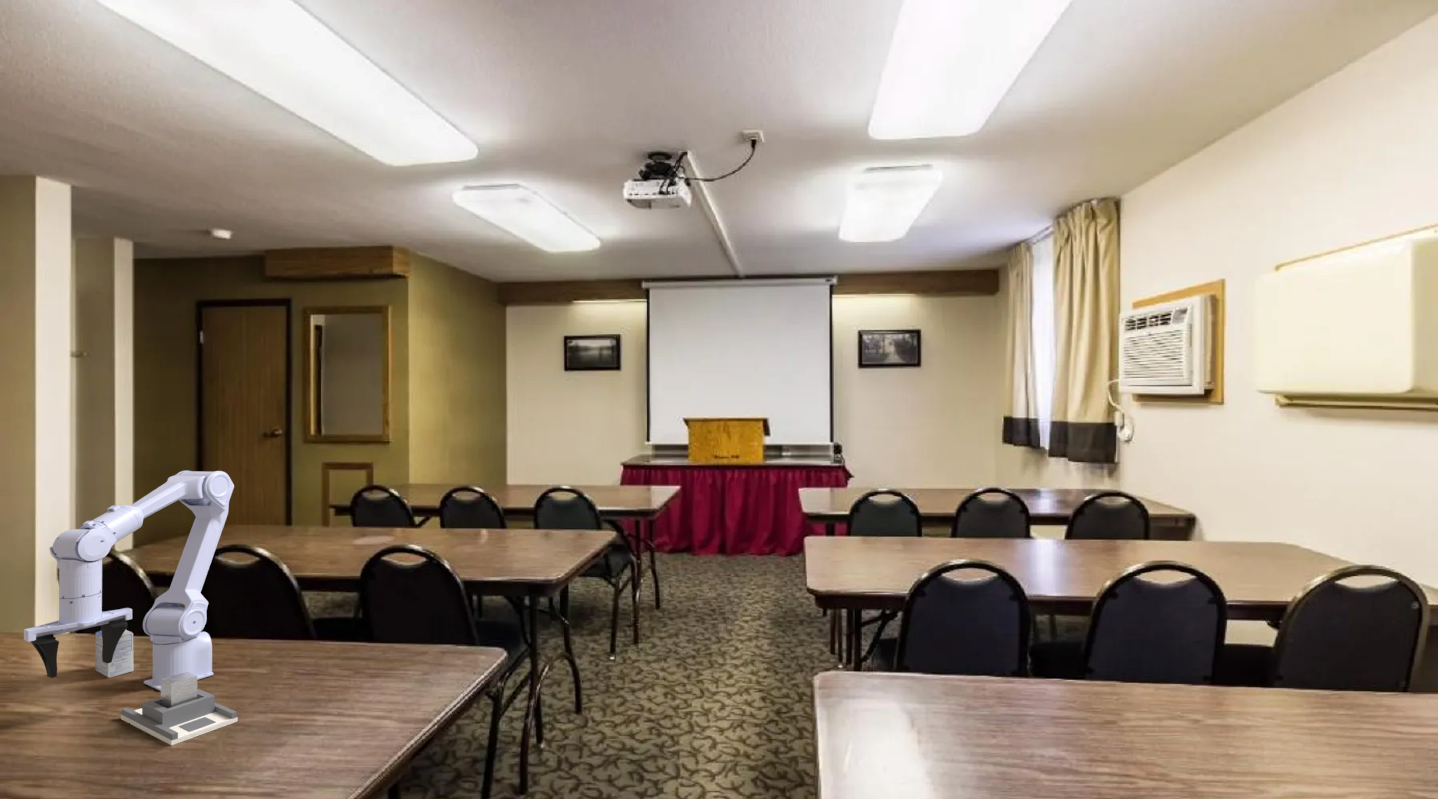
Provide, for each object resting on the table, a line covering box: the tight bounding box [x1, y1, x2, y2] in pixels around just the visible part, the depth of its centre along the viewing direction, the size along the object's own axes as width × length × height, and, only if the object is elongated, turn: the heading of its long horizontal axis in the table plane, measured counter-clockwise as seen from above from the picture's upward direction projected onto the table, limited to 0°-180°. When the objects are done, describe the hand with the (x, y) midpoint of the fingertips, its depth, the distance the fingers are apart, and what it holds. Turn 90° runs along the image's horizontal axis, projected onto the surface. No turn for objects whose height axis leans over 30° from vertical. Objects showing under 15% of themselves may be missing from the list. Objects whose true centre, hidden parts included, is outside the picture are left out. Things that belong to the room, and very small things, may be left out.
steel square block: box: [160, 672, 198, 709], centre depth 123 cm, size 4×4×7 cm
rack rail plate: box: [120, 687, 239, 746], centre depth 123 cm, size 10×20×4 cm, turn 60°
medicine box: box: [94, 629, 134, 679], centre depth 146 cm, size 8×4×9 cm, turn 58°
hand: (80, 669), depth 123 cm, fingers open, 7 cm apart
